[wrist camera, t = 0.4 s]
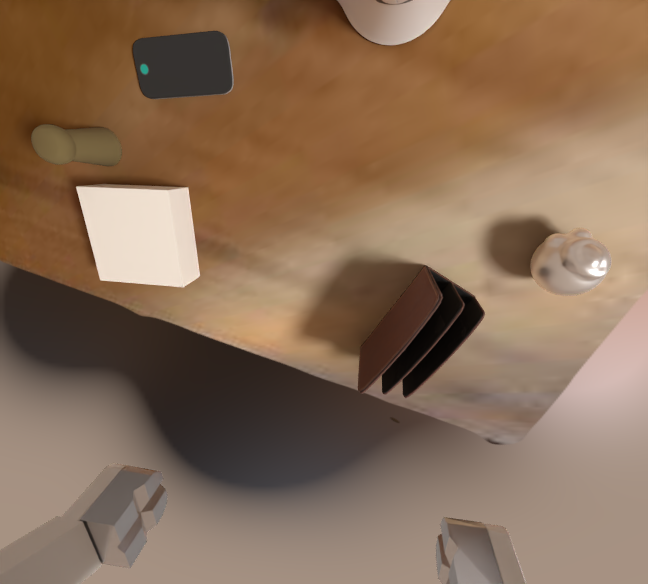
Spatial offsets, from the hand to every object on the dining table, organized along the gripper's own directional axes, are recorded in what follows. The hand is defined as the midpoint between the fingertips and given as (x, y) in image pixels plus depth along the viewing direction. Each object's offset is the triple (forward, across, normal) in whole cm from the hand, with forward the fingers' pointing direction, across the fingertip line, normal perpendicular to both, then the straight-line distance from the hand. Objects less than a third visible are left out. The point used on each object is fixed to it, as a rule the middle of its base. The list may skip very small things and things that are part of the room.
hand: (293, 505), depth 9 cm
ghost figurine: (+47, -29, +4) cm, 55 cm away
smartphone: (+47, +28, -21) cm, 59 cm away
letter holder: (+47, -10, +18) cm, 51 cm away
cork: (+47, +44, -10) cm, 65 cm away
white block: (+47, +38, +4) cm, 61 cm away
